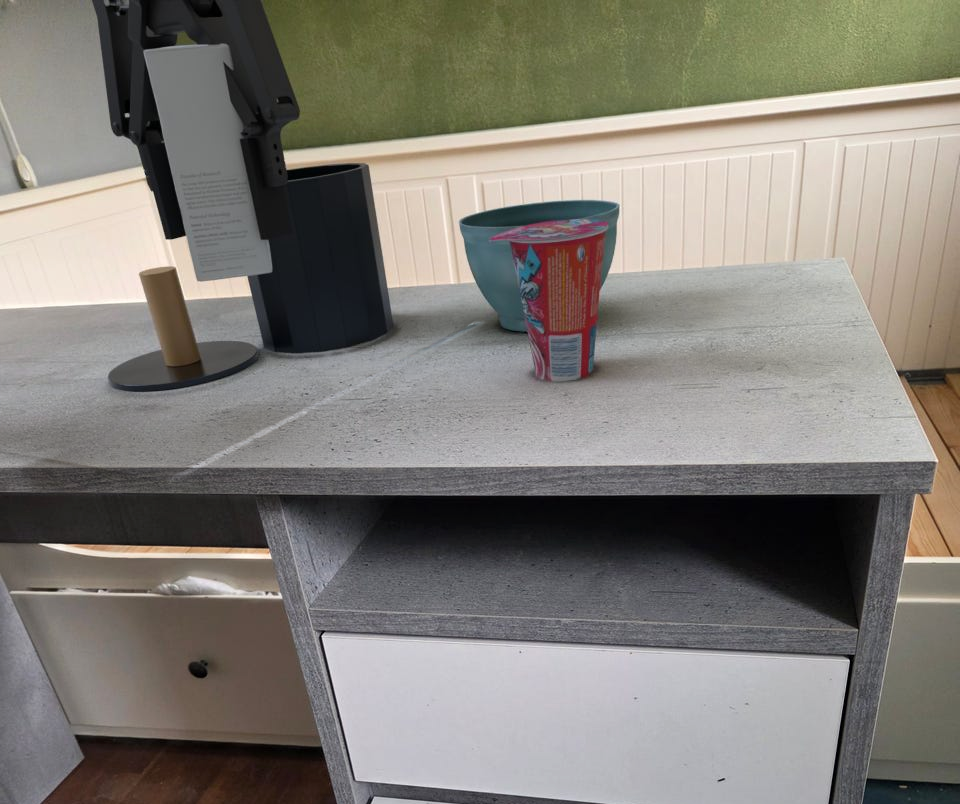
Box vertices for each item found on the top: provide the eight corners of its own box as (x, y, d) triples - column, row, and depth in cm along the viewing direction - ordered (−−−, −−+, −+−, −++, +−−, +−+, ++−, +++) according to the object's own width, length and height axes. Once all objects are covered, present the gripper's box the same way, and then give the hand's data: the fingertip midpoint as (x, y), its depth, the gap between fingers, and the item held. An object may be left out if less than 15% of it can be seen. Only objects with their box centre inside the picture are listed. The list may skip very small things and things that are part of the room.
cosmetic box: (198, 267, 72) (143, 51, 64) (271, 256, 73) (226, 42, 65) (197, 285, 65) (135, 45, 57) (278, 272, 66) (228, 35, 58)
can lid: (80, 390, 91) (43, 287, 85) (190, 348, 101) (164, 253, 96) (182, 403, 83) (148, 290, 78) (289, 355, 94) (267, 253, 88)
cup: (568, 353, 83) (561, 215, 77) (631, 369, 77) (630, 220, 71) (490, 379, 79) (476, 235, 73) (550, 397, 73) (541, 243, 67)
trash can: (237, 354, 97) (195, 187, 88) (321, 319, 106) (291, 166, 97) (338, 362, 90) (303, 182, 81) (418, 324, 99) (395, 159, 90)
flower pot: (497, 305, 103) (488, 203, 97) (634, 301, 98) (633, 193, 92) (448, 344, 91) (434, 231, 85) (602, 342, 85) (599, 221, 79)
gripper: (310, -177, 53) (370, 226, 65) (78, -108, 64) (167, 227, 76) (221, -195, 48) (304, 246, 60) (-16, -116, 58) (96, 245, 71)
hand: (227, 236), depth 68 cm, fingers closed on cosmetic box, 10 cm apart
